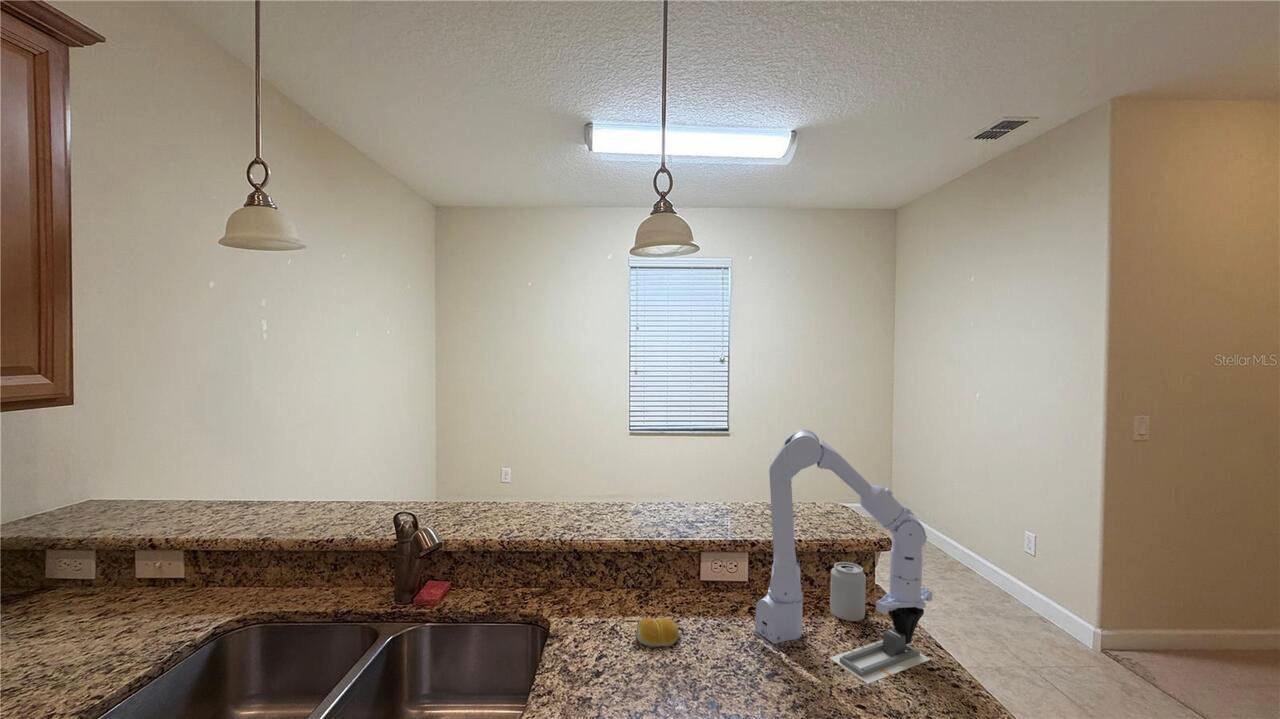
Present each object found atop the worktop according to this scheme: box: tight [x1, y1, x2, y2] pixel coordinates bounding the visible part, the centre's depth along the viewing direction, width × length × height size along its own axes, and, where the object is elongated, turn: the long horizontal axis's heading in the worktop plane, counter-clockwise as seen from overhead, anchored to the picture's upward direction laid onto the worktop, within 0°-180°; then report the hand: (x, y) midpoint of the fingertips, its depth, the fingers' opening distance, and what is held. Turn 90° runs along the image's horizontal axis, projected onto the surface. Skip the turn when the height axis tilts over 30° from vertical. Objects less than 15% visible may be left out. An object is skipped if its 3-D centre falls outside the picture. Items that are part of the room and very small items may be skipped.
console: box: [829, 639, 932, 685], centre depth 104 cm, size 18×9×2 cm, turn 117°
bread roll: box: [635, 617, 680, 648], centre depth 113 cm, size 8×9×4 cm
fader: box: [882, 628, 906, 657], centre depth 106 cm, size 3×3×4 cm
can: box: [829, 561, 867, 622], centre depth 123 cm, size 8×8×12 cm
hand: (903, 641), depth 107 cm, fingers closed
